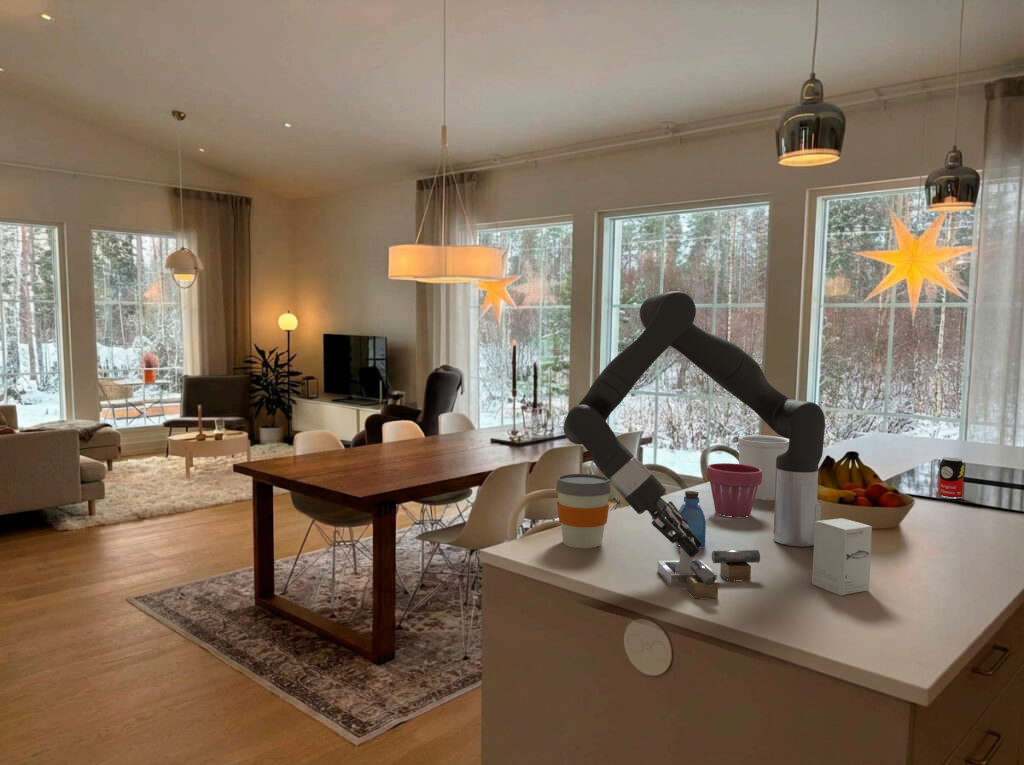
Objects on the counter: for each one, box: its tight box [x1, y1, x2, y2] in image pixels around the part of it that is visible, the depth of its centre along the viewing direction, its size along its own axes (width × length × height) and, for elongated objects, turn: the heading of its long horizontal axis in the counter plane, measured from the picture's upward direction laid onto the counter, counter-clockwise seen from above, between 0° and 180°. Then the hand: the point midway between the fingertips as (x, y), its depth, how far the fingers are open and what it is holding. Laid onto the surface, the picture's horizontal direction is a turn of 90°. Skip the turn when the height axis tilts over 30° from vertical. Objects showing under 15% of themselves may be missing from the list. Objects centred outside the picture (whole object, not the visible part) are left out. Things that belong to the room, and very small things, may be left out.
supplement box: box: [811, 517, 873, 597], centre depth 139 cm, size 7×7×13 cm
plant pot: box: [706, 462, 762, 518], centre depth 197 cm, size 14×14×13 cm
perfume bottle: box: [676, 490, 707, 548], centre depth 168 cm, size 6×6×12 cm
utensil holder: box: [738, 434, 789, 501], centre depth 220 cm, size 15×15×18 cm
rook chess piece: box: [675, 537, 695, 574], centre depth 144 cm, size 4×4×8 cm
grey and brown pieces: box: [657, 549, 761, 600], centre depth 140 cm, size 19×17×5 cm
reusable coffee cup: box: [555, 473, 612, 549], centre depth 168 cm, size 13×13×15 cm
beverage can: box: [937, 457, 965, 498], centre depth 219 cm, size 6×6×12 cm
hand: (696, 550), depth 143 cm, fingers open, 4 cm apart
